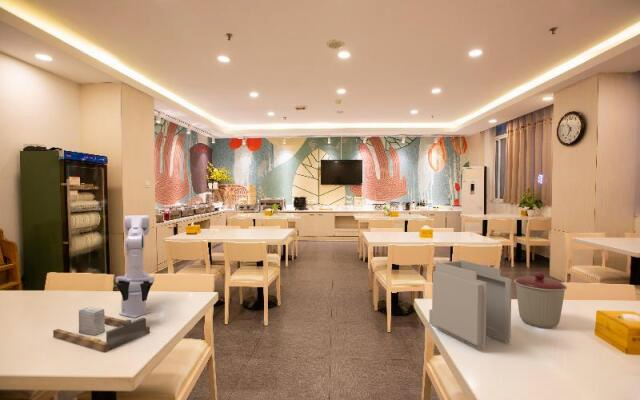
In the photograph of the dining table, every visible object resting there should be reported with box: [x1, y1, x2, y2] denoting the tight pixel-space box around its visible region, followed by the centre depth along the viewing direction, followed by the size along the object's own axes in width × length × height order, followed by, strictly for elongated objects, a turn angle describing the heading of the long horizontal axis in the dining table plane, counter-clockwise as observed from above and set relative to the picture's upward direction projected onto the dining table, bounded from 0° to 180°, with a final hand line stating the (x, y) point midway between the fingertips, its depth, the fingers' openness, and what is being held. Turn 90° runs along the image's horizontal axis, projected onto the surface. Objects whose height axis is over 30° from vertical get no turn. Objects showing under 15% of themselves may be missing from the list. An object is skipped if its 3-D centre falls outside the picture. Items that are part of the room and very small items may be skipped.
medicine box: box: [78, 306, 106, 336], centre depth 124 cm, size 8×4×9 cm, turn 71°
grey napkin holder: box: [428, 259, 513, 350], centre depth 125 cm, size 17×27×26 cm, turn 25°
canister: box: [513, 271, 568, 329], centre depth 136 cm, size 18×18×21 cm
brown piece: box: [52, 315, 151, 353], centre depth 122 cm, size 28×17×7 cm, turn 67°
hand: (135, 300), depth 131 cm, fingers open, 7 cm apart
